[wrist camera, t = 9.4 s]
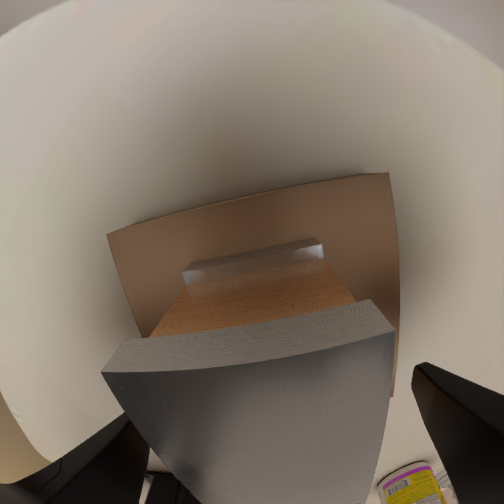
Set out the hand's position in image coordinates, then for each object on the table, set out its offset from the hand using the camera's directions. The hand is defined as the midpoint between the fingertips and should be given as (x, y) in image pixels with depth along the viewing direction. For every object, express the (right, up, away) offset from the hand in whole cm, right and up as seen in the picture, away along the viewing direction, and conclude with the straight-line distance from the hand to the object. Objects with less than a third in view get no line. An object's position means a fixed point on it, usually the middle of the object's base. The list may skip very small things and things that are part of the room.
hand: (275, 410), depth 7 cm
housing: (0, +1, +4) cm, 4 cm away
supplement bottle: (+17, -21, +12) cm, 29 cm away
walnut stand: (0, +2, +7) cm, 7 cm away
